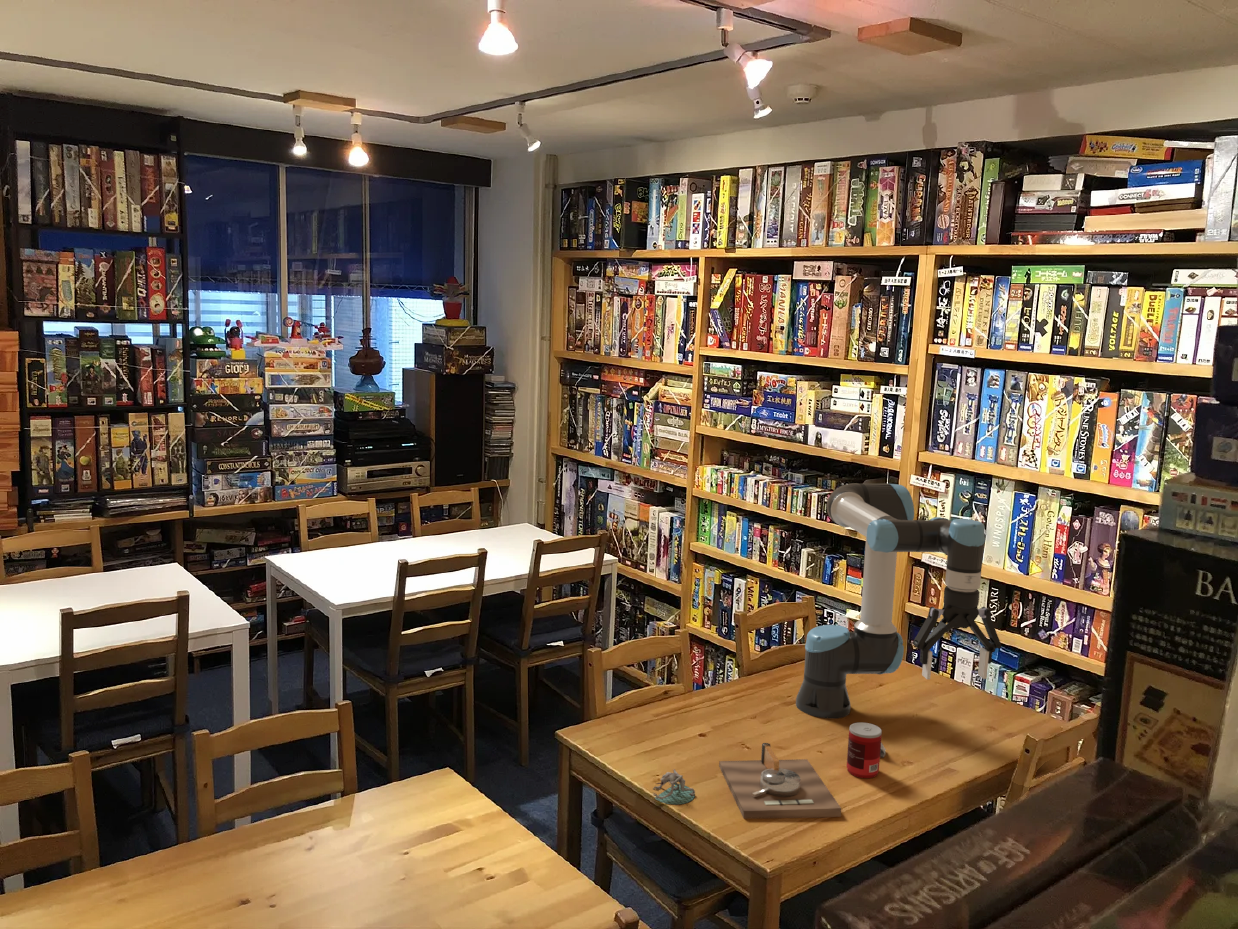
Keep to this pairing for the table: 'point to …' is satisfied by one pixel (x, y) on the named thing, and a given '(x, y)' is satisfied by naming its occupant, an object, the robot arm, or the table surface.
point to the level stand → (802, 805)
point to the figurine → (675, 790)
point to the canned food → (864, 750)
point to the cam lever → (776, 776)
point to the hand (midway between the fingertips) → (954, 677)
